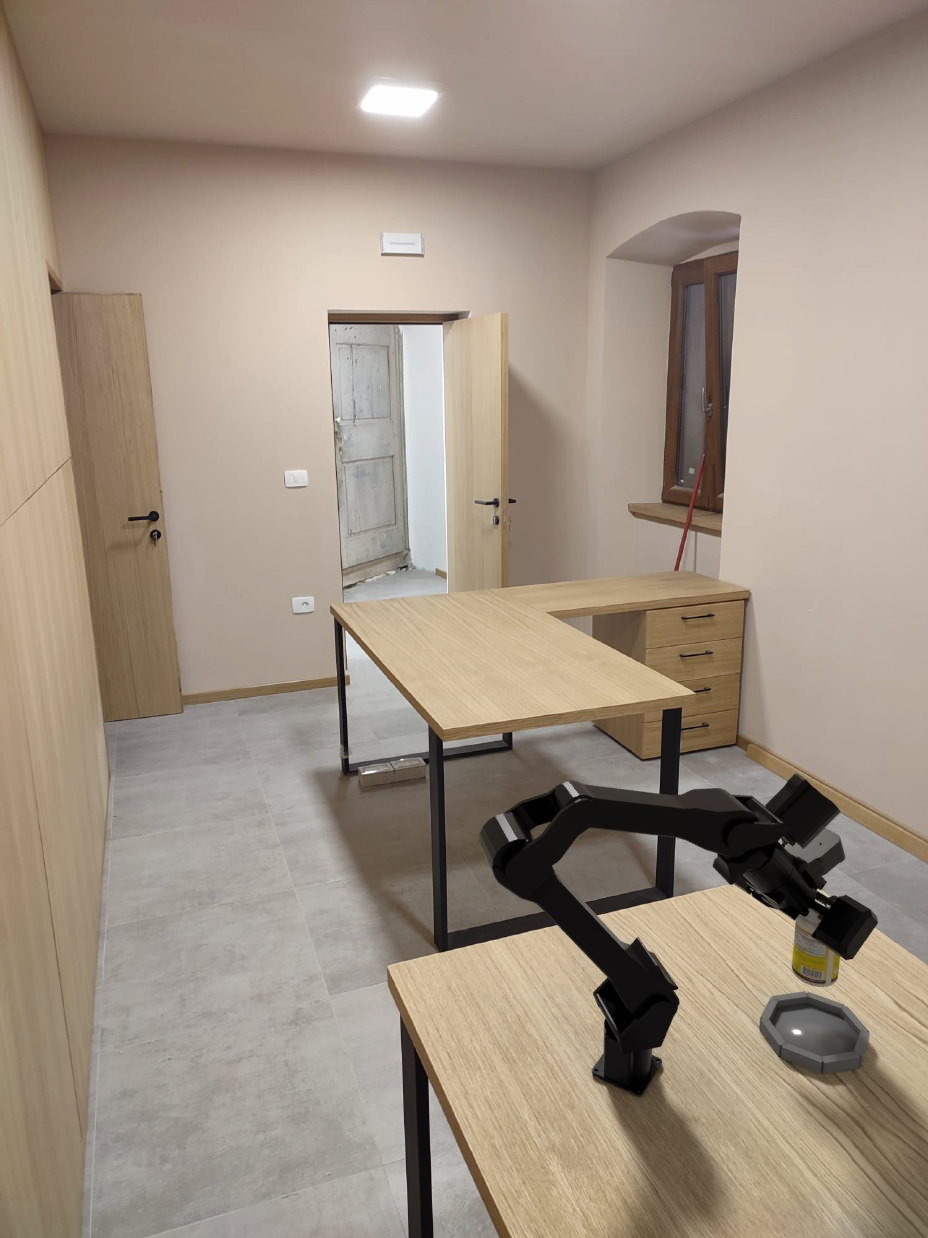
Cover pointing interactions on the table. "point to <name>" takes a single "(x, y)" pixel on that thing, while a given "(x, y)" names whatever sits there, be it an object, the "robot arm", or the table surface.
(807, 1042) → the dish
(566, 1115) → the table surface
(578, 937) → the robot arm
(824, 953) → the supplement bottle
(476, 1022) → the table surface
